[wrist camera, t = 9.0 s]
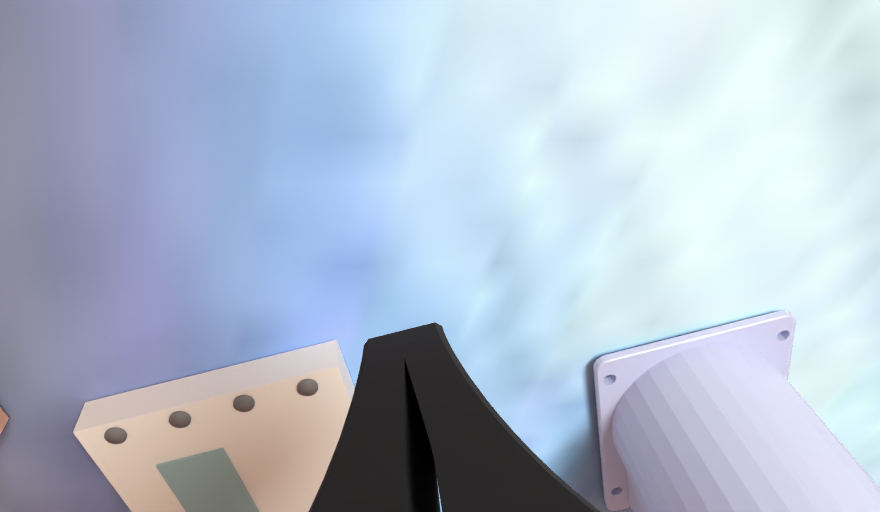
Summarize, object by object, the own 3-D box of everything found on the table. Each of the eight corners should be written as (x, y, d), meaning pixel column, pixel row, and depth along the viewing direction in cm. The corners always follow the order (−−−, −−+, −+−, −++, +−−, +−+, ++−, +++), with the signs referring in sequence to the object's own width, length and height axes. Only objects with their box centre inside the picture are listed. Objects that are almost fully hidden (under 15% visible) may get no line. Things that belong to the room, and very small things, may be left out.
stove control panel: (408, 532, 30) (416, 596, 27) (212, 583, 30) (202, 652, 27) (336, 339, 23) (338, 400, 21) (85, 402, 23) (56, 471, 21)
